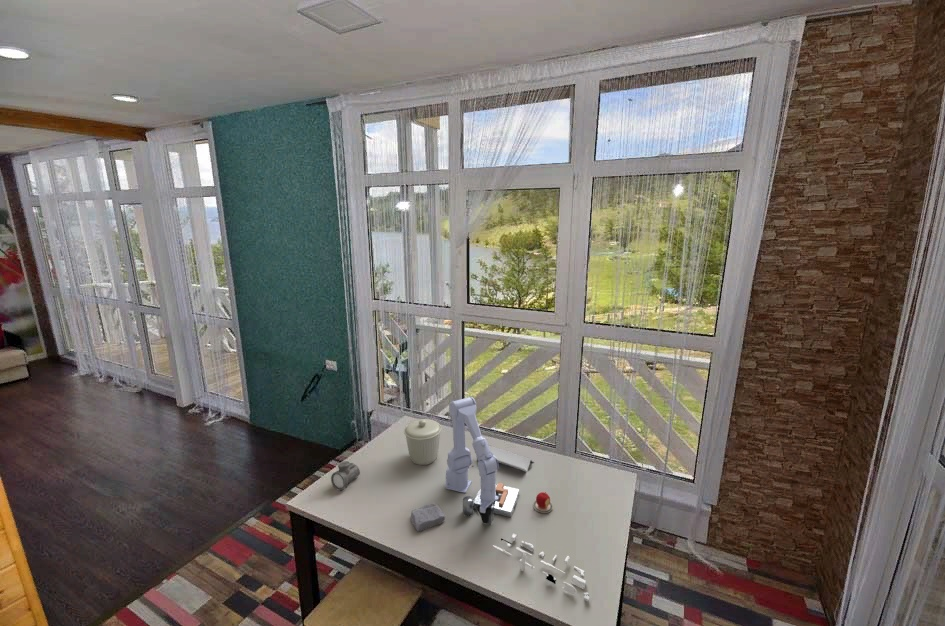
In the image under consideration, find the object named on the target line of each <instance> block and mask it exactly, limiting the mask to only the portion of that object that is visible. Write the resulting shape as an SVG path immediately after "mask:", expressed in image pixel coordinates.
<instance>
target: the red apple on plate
mask: <svg viewBox="0 0 945 626" xmlns="http://www.w3.org/2000/svg"><path fill="white" fill-rule="evenodd" d="M535 498H536V499H535V500H534V501H533V504H532V506H533V508H534V510H535V511H536V512H538V513H540V514H541V513H542V514H546V513H550V512H552V510H553V508H554V506H553V502H551V498H550V495H549V494H548V493H547V492H546V491H545V492H543V491H542V492H539V493H537V495H536V497H535Z"/></svg>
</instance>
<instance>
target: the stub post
mask: <svg viewBox="0 0 945 626" xmlns="http://www.w3.org/2000/svg"><path fill="white" fill-rule="evenodd" d="M474 500H475V498H474V497H473V496H471V495H466V496H463V498H462V514H463V516H465V517H471V516H473V515H474V513H475V511H474V510H475V508H474Z"/></svg>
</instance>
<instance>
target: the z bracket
mask: <svg viewBox="0 0 945 626" xmlns="http://www.w3.org/2000/svg"><path fill="white" fill-rule="evenodd" d="M488 446H489V448H490V451H491V453H493V454H494V456H495V457H496V458H497V461H498V464H502V465H506V466H508V467H512V468H515V469H517V470H520V471H522V472H526V473H527V472H528V470H529V466H530V464H531V463H535V461H534V460H533V459H532V458H530V457H526V456H524V455H521V454H518V453H514V452H511V451H508V450H505V449H501V448H499V447H497V446H496V447H495V446H492V445H489V444H488Z"/></svg>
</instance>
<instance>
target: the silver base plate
mask: <svg viewBox="0 0 945 626" xmlns="http://www.w3.org/2000/svg"><path fill="white" fill-rule="evenodd" d="M497 485H498V483H497V484H496V487H497ZM503 489H508V494H507V496H506V499H505V501H504V504H503V506H500V505H499V501H500V499H501V497H502V494H503V493H500V492H499V495H498V500H497V501H495V506H494V509H493V514H496V515H500V516H504V517H509V518H512V517H513V516H512V515H513V513H514V509H515V507H516V504H517V501H518V498H519V496H520V489H519V488H515V487H511V486H506V485H504V487H503ZM480 494H481V487H480V489H479V490H478V492H477V493H476V495H475V498H474V509H475V510H477V507H478V505H481V504H480Z"/></svg>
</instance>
